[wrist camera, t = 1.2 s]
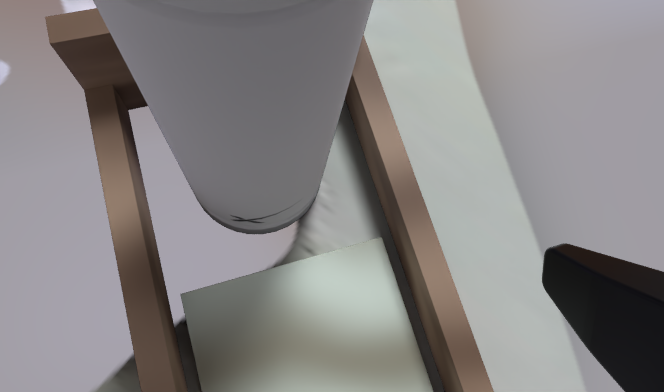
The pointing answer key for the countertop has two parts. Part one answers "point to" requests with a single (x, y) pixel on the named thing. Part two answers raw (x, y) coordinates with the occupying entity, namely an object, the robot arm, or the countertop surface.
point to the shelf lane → (283, 281)
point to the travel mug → (244, 94)
